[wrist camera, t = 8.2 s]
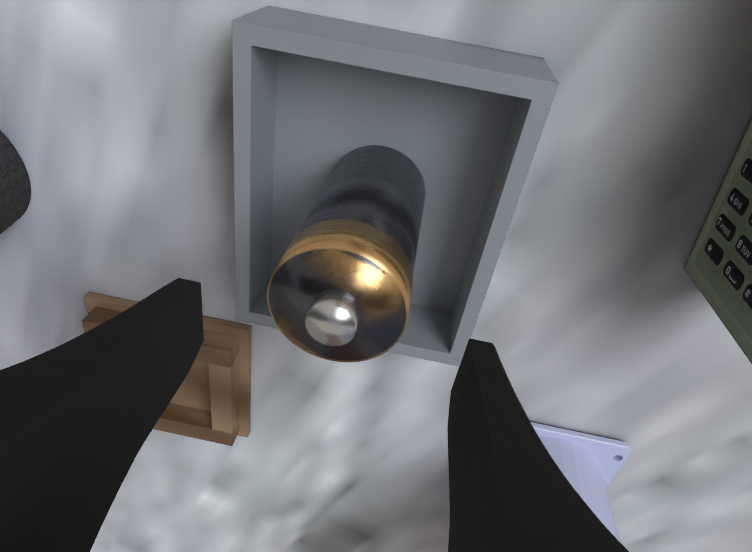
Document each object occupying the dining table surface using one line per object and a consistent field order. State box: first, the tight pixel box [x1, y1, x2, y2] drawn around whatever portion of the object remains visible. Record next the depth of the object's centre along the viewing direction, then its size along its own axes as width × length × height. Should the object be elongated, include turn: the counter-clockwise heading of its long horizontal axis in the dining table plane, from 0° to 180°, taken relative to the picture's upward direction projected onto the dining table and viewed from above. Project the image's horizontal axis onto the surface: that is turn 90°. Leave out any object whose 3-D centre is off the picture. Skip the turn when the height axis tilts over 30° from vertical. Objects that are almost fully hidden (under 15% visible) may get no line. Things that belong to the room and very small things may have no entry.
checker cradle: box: [82, 292, 251, 446], centre depth 29 cm, size 9×9×2 cm
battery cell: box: [267, 145, 426, 362], centre depth 18 cm, size 4×4×9 cm
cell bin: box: [232, 6, 559, 366], centre depth 20 cm, size 12×10×4 cm
